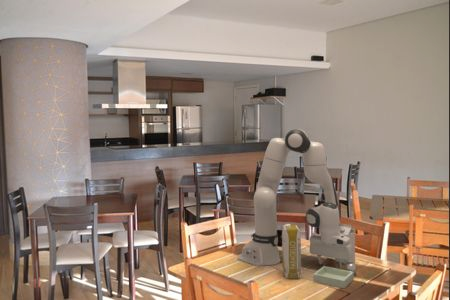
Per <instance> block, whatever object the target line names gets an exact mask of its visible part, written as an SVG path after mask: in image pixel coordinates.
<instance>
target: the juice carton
mask: <svg viewBox="0 0 450 300" xmlns="http://www.w3.org/2000/svg"><path fill="white" fill-rule="evenodd" d="M282 226H283V230H282V247H281V252H282V256H281V257H282V260H281V261H282V269H283V270H282V271H283V273H284V276H285V278H286V279H300V278H301V274H302V243H301V242H302V239H301V237H302V236H301V232H300V229H299V227H298V225H297V224H290V223H286V224H283V225H282Z"/></svg>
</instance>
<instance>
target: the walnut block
mask: <svg viewBox="0 0 450 300" xmlns="http://www.w3.org/2000/svg"><path fill="white" fill-rule="evenodd" d="M336 263H337V262H336V260H335V258H331V257H327V258H325V259H324V264H323V266H326V267H331V268H336ZM336 269H337V268H336Z"/></svg>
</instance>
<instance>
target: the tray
mask: <svg viewBox="0 0 450 300" xmlns="http://www.w3.org/2000/svg"><path fill="white" fill-rule="evenodd" d="M354 277H355V276H354V272H351V271H346V269H342V268H331V267H326V266H324V265H323V266H322V267H321V268H319V269H318V270H316V271H315V272H314V273H313V274H312V281H313V283H318V284H323V285H328V286H332V287H336V288H340V289H345V288H346V287H347V286H348V285H349V284H351V282H353V280H354Z"/></svg>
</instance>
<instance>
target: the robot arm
mask: <svg viewBox="0 0 450 300" xmlns="http://www.w3.org/2000/svg"><path fill="white" fill-rule="evenodd" d="M291 151H292V152H296V153H300V154H302V157H303V159H302V160H303V173H304V177H306V179H307V180H308V181H310V182H311V183H314V184H317V185H318V186H320V187H321V188H322V190H323V195H324V200H325V202H323V203H321V204H320V205H318V206H315V207H311V208H308V209H307V211H306V212H305V213H306V214H305V221H306V223H307V224H308V226H310V227H311V228H319V229H320V235H316V234H312V235H311V236H310V237H309V253H310V254H311V255H316V258H317V260H318V261H319V265H323V266H324V260H325V259H324V260H323V259H322V257H327V258H330V259H335V258H337V259H340V261H341V262H340V263H339V262H337V269H342V268H343V267H342V266H343V262H344V260H350V259H351V258H352V247H351V244H350V243H349V242H350V238H349V237H347V236H345V235H343V234H341V233H340V230H339V224H341V223H340V221H341V217H342V214H341V209H340V207H339V204H338V199H337V192H336V187H335V182H334V179H333V176H332V175H331V174H330V173H329V171H328V165H327V156H326V155H327V154H326V150H325V145H324V144H323V143H321V142H317V141H311V140H310V139H309V135H308V134H307V132H306V131H304V129H301V128H294V129H293V128H292V129H291V130H289V131H288V132H287V133H286V135H285V137H283V138H282V137H274V138H271V140H270V141H269V143H268V145H267V147H266V150H265V153H264V157H263V160H262V164H261V168H260V172H259V175H258V176H259V177H258V181H257V185H256V189H255V192H254V195H253V210H254V230H255V232H254V233H252V234H251V235H250V237H251V238H252V239H251V240H250V241H248V242H247V243H246V244H245V245H244V246H243V247H242V249H241V253H240V254H238V256H237V258H236V259H237V260H238V261H241V262H244V263H247V264H250V265H253V266H257V267H260V266H272V265H277V264H279V263H280V262H281V261H282V260H281V257H280V254H279V253H280V252H279V246H277V245H278V234H277V226H278V225H277V224H278V222H277V221H278V219H277V195H278V192H279V188H280V183H281V180H282V177H283V173H284V169H285V166H286V161H287V157H288V155H289V153H291Z"/></svg>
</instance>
